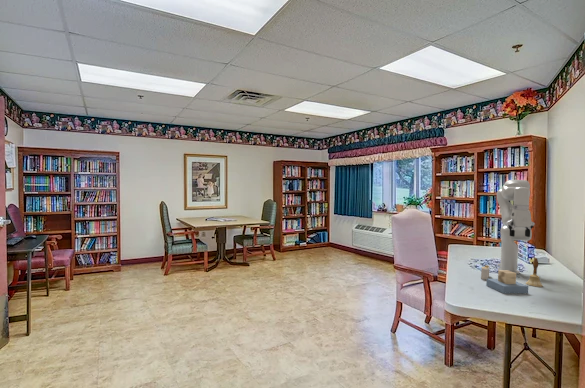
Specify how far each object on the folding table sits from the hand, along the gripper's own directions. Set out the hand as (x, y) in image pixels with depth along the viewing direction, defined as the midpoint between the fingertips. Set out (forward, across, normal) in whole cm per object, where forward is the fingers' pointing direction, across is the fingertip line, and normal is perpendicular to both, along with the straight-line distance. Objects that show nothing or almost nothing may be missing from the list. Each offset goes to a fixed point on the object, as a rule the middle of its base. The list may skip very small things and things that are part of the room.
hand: (519, 236), depth 195 cm
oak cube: (+24, -16, -12) cm, 31 cm away
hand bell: (+29, +8, -3) cm, 30 cm away
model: (+29, -13, +11) cm, 34 cm away
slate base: (+28, -16, -12) cm, 35 cm away
